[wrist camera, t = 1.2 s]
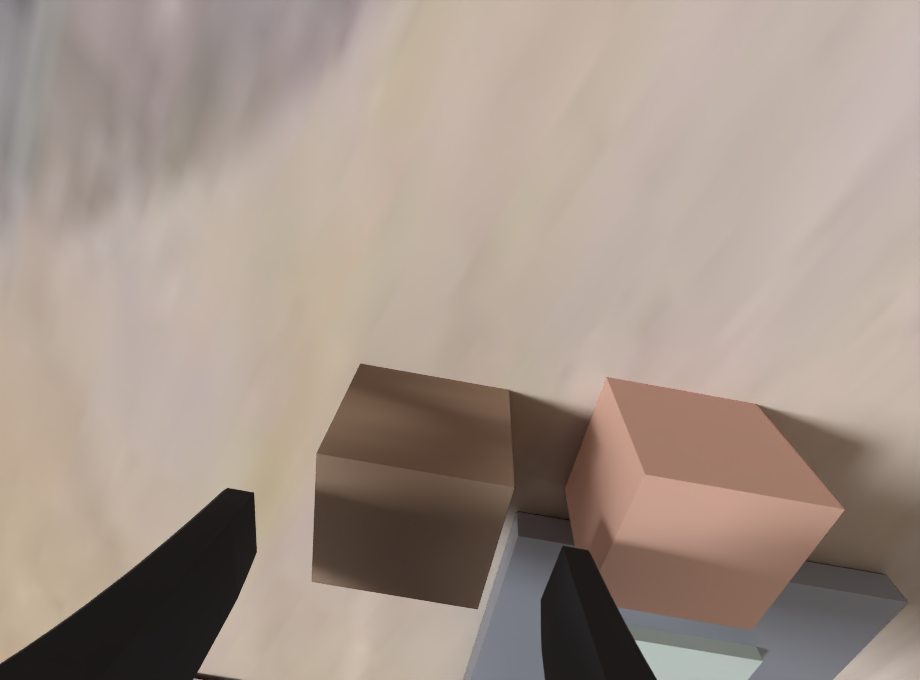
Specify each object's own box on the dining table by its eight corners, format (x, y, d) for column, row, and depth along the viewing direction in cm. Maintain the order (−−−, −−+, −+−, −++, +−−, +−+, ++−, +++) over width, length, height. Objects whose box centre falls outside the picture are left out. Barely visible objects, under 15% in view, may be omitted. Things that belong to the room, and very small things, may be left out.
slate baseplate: (454, 708, 22) (451, 747, 21) (516, 511, 16) (518, 549, 15) (725, 752, 22) (740, 793, 21) (886, 575, 16) (921, 617, 15)
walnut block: (351, 473, 16) (311, 581, 12) (361, 361, 14) (316, 453, 10) (480, 495, 16) (477, 608, 13) (508, 388, 14) (514, 487, 11)
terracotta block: (564, 486, 16) (584, 601, 12) (605, 375, 14) (645, 474, 10) (693, 509, 16) (752, 630, 12) (754, 402, 14) (845, 509, 10)
